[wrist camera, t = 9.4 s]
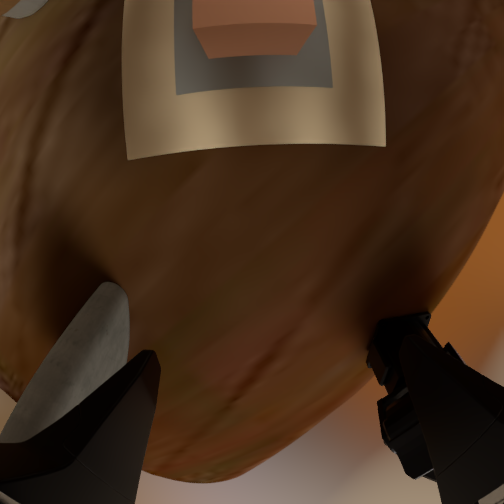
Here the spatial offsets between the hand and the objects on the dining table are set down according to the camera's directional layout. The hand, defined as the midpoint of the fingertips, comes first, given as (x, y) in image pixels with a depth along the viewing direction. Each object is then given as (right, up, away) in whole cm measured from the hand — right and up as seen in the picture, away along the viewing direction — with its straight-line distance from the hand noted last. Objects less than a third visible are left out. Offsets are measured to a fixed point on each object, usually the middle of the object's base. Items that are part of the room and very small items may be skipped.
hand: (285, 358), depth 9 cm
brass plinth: (-1, +18, +6) cm, 19 cm away
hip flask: (-16, -6, +16) cm, 23 cm away
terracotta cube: (-1, +17, +3) cm, 17 cm away
